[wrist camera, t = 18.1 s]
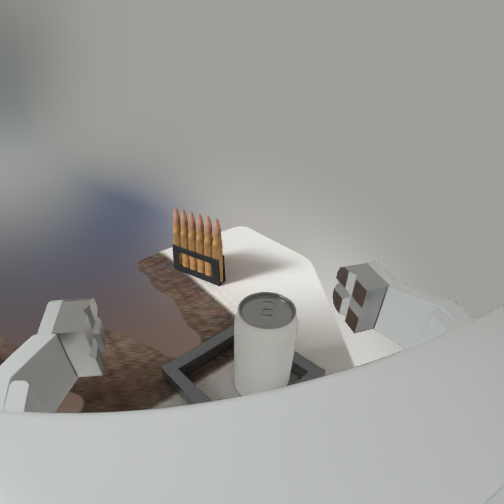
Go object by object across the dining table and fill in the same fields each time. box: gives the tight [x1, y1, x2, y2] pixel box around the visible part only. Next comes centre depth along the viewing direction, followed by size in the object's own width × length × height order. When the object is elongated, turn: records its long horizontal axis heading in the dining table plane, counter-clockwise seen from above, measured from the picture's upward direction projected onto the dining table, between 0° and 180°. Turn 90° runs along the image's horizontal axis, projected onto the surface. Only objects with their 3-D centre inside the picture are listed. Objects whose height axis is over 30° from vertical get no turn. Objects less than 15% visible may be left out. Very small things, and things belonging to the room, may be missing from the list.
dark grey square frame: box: [161, 325, 325, 404], centre depth 36 cm, size 14×14×2 cm
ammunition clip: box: [173, 208, 225, 286], centre depth 54 cm, size 11×2×12 cm, turn 60°
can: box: [234, 292, 298, 396], centre depth 33 cm, size 6×6×12 cm
